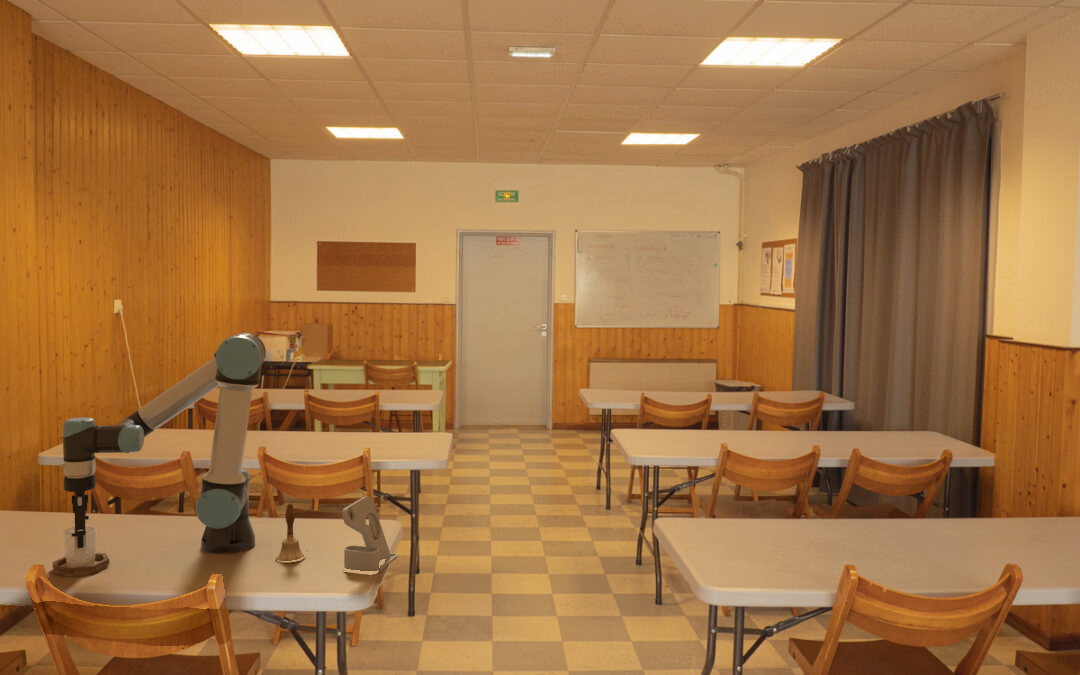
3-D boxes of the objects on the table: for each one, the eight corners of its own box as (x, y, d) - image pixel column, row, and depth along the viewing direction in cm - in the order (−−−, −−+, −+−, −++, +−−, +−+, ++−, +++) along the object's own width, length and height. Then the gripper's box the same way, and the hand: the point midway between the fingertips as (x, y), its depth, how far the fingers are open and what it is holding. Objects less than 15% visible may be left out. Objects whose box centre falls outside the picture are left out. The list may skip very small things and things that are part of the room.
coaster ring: (118, 561, 230) (118, 554, 229) (86, 578, 217) (86, 570, 217) (76, 558, 231) (76, 551, 231) (42, 574, 219) (42, 566, 218)
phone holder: (374, 576, 223) (374, 511, 221) (340, 572, 225) (340, 508, 224) (399, 556, 239) (400, 495, 238) (367, 552, 242) (367, 492, 241)
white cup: (74, 573, 218) (73, 536, 218) (58, 567, 222) (57, 531, 222) (103, 565, 225) (102, 529, 224) (87, 559, 229) (86, 524, 228)
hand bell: (269, 561, 233) (269, 506, 231) (287, 552, 240) (287, 499, 239) (293, 565, 230) (293, 509, 229) (311, 556, 238) (311, 502, 236)
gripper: (64, 466, 231) (66, 540, 233) (62, 486, 210) (63, 567, 211) (95, 464, 235) (96, 536, 236) (95, 483, 213) (96, 563, 215)
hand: (80, 551), depth 224 cm, fingers open, 13 cm apart
